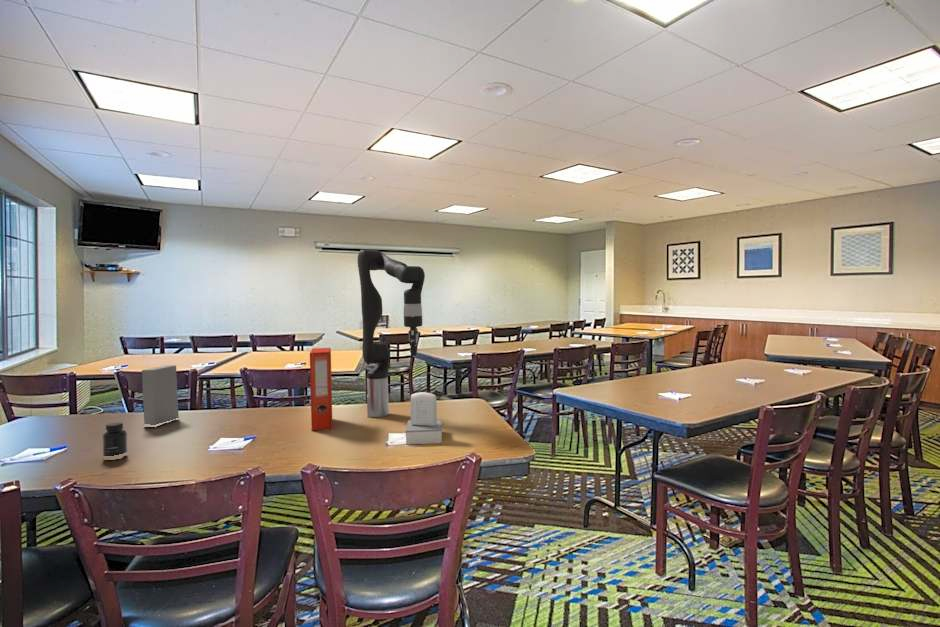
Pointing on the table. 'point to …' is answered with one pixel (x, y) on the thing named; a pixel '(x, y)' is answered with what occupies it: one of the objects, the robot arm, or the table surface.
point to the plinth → (423, 433)
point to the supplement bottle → (114, 440)
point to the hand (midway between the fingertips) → (414, 354)
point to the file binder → (321, 388)
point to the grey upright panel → (160, 394)
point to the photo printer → (423, 409)
